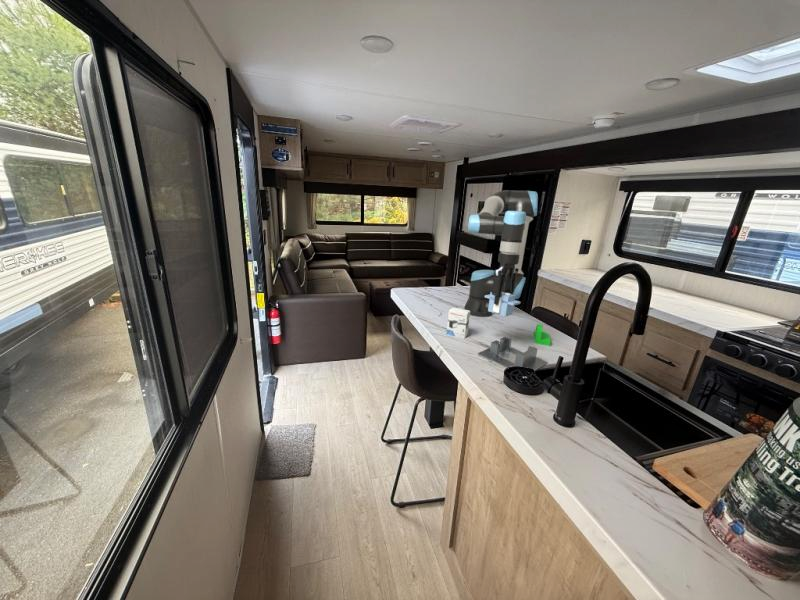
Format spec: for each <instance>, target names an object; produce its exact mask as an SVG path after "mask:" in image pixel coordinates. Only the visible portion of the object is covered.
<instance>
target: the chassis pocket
mask: <svg viewBox="0 0 800 600" xmlns="http://www.w3.org/2000/svg"><path fill="white" fill-rule="evenodd" d="M512 340H513V339H512V338H510V337H508V336H502V337H501V338H500V339H499V340H494V341H491V342H490V347H489V348H486V349H485V350H482V351H479V352H477V355H479V356H480V357H483V358H485V359H487V360H489V361H492V362H494V363H496V364H498V365H500V366H503V367H505V368H507V367H510V366H521V367H528V368H531V369H533V370H534V372H536V371H537V370H539V369H540V368H542V367H543V366H545V365H547V364H548V361H546V360H543V359H541V358H538V357H537V355H538V354H537V353H538V350H539V349H538V348H537V347H533V346H531V345H529V346H528V347H527V350H526V351H524V352H523V351H521V350H519V349H516V348H513V347H512Z"/></svg>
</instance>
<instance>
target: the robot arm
mask: <svg viewBox="0 0 800 600" xmlns="http://www.w3.org/2000/svg"><path fill="white" fill-rule="evenodd" d="M538 201H539V196H538V192H537V191H533V190H511V189H510V190H508V189H507V190H506V189H505V190H499V191H497V192H494V193H492V194H491V195H489V196H487V198H486V199H485V201H484V206H483V208H482V209H481V210H480V212H479V214H470V216H469V218H468V224H467V230H468V231H469V233H473V234H476V235H477V234H481V235H482V234H483V235H494V236H495V235H496V236H501V239H500V247H499V253H498V257H497V258H498V259H497V261H498V263H499V267H498V269H494V270H493V269H479V270H475V271H473V272H472V273H471V278H470V286H469V295H468V299H467V300H466V302H465V304H464V308H463V309H464V310H469V311H470V316H473V317H478V318H481V317H482V318H488V317H490V316H493V313H492V312H489V311H488V308H487V307H486V304H487V303H489V300H490V299H489V298H485V295H489V294H490V293H491V292H492V295H494V296H495V299H494V307H493V311H494V312H497V313H500V308H501V302H502V297H501V294H502V292H505V293H510V294H512V295H516V296H515V300H519V298H520V297H521V295H522V291H523V288H524V286H525V284H526V277H525V276H524V272H523V270H522V266H523V261H524V255H525V248H526V244H527V237H528V230H529V226H530V223H531V222H532V221H533V220H534V217H537V215H538V206H539V205H538ZM501 214H502V215H501ZM503 215H504V216H503Z"/></svg>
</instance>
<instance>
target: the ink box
mask: <svg viewBox="0 0 800 600" xmlns="http://www.w3.org/2000/svg"><path fill="white" fill-rule="evenodd" d="M470 316H471V315H470V311H469V310H464V308H463V309H462V308H459V307H455V306H454V307H451V308H450V309H449V310H448V316H447V322H446V323H447V326H446V332H445V334H446V335H449V336H452V337H456V338H460V339H464V340H465V339H466V337H467V336H468V334H469V333H468V332H469V325H470Z"/></svg>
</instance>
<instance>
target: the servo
mask: <svg viewBox="0 0 800 600" xmlns="http://www.w3.org/2000/svg"><path fill="white" fill-rule="evenodd" d="M515 296H516V295H512V294H510V293H505V292H502V294H501V297H502V302H501V308H500V313H497V312H494V311H493V307H494V299H495V296H494V295H492V292H491V293H490V294H489V295H485V298H489V299H490V300H489V303H487V304H486V307H487V308H488V311H489V312H492V314H496V315H499V316H502V317H505V318H506V317H509V316H513V313H514V307H515V306H517V305H520V304H521V301H519V300H517V299H515Z"/></svg>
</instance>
